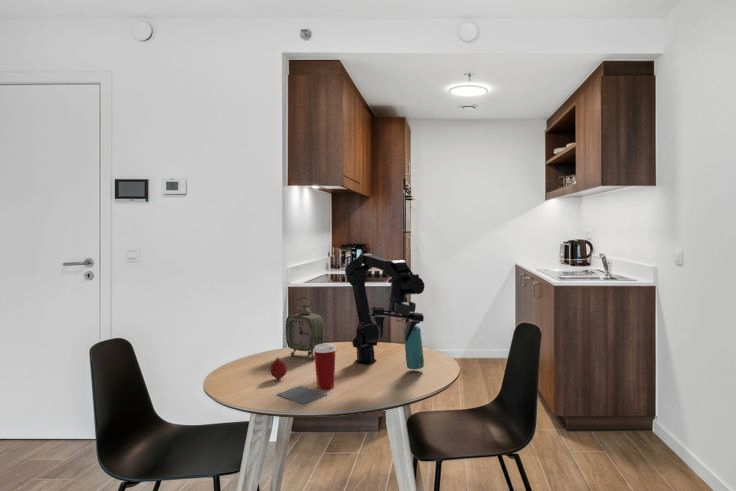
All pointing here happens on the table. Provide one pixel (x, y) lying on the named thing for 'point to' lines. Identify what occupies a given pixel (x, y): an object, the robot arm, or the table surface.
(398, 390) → the table surface
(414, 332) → the beverage bottle
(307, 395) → the mat
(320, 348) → the paper cup
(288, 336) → the tabletop clock
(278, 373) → the red rounded piece
